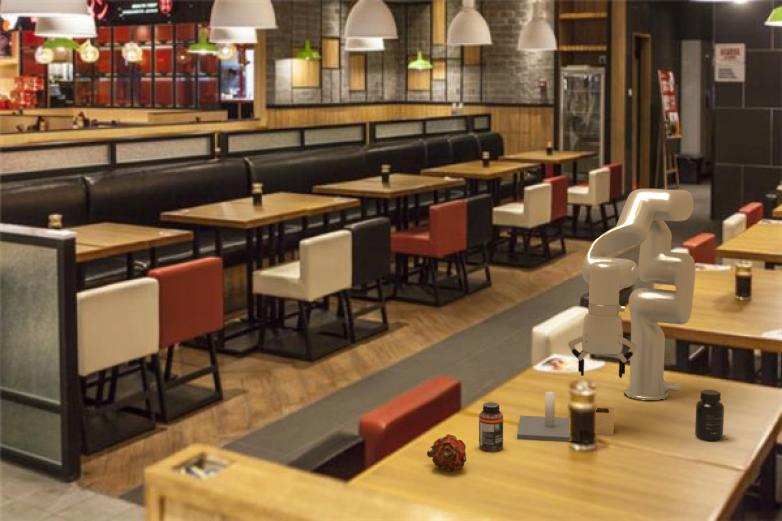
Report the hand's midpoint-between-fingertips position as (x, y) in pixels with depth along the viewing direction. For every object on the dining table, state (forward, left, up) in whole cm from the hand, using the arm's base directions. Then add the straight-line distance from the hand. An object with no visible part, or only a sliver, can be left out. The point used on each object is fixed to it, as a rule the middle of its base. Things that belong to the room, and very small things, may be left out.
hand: (601, 375), depth 259 cm
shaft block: (+13, +2, -15) cm, 20 cm away
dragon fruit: (+36, +33, -15) cm, 51 cm away
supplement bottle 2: (-27, +1, -15) cm, 31 cm away
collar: (0, 0, -15) cm, 15 cm away
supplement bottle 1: (+27, +18, -15) cm, 35 cm away
